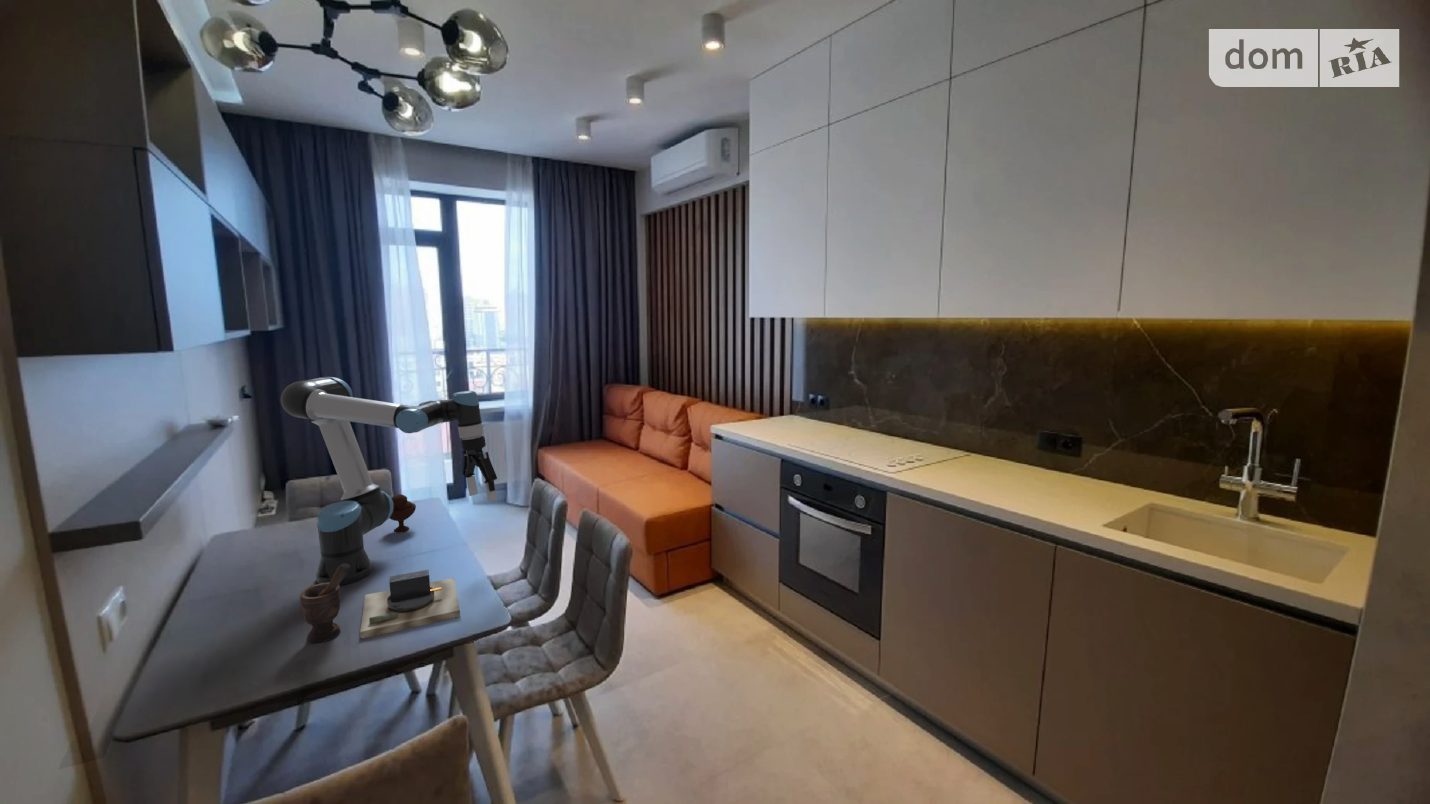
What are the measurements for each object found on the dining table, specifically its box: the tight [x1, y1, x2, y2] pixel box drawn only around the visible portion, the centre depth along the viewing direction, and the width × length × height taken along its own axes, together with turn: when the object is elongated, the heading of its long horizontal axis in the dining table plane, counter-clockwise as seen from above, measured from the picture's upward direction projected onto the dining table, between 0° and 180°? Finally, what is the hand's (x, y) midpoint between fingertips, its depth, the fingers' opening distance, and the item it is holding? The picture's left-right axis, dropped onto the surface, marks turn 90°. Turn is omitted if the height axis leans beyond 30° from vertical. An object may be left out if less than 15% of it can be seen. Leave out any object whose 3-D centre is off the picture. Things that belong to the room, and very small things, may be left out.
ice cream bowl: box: [389, 493, 417, 534], centre depth 219 cm, size 11×11×15 cm
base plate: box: [359, 577, 461, 639], centre depth 163 cm, size 24×22×4 cm
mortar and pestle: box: [299, 563, 351, 644], centre depth 148 cm, size 12×9×20 cm
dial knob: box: [387, 569, 442, 613], centre depth 162 cm, size 14×12×8 cm
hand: (482, 497), depth 191 cm, fingers open, 13 cm apart
